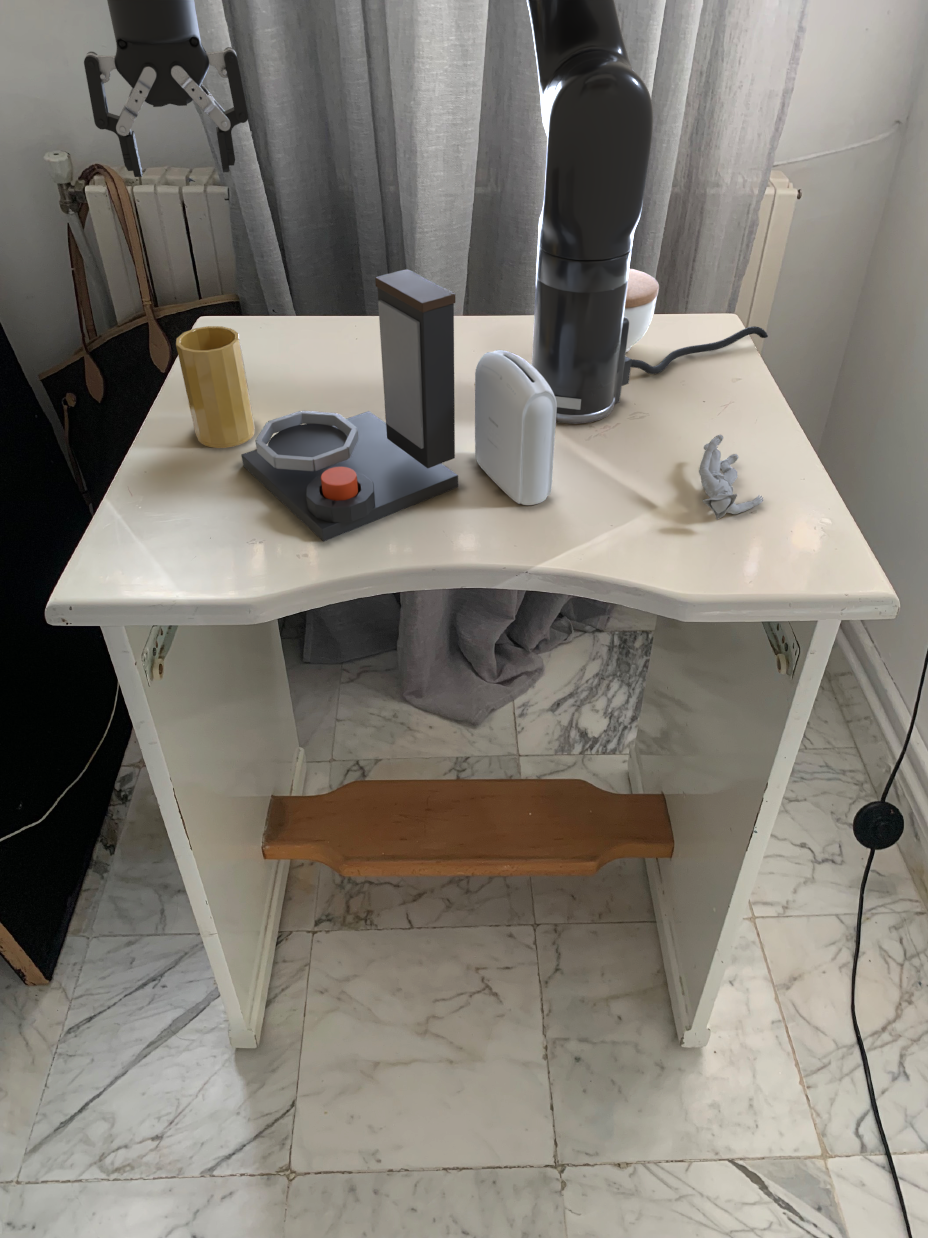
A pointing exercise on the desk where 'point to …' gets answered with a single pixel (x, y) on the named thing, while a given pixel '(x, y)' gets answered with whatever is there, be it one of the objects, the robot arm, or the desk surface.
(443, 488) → the brewer base
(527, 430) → the photo printer
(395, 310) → the coffee maker
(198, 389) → the cup
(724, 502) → the soldier figure
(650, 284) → the trinket box
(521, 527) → the desk surface
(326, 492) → the button
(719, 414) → the desk surface
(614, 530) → the desk surface
